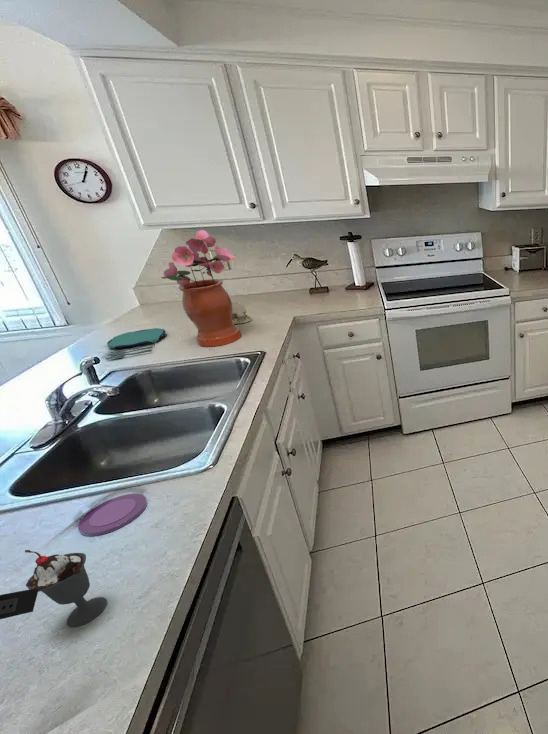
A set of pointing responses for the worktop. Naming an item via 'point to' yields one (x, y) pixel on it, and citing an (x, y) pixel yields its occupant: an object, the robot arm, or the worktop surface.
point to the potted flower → (205, 291)
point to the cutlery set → (134, 341)
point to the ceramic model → (239, 314)
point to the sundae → (66, 585)
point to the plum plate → (112, 514)
